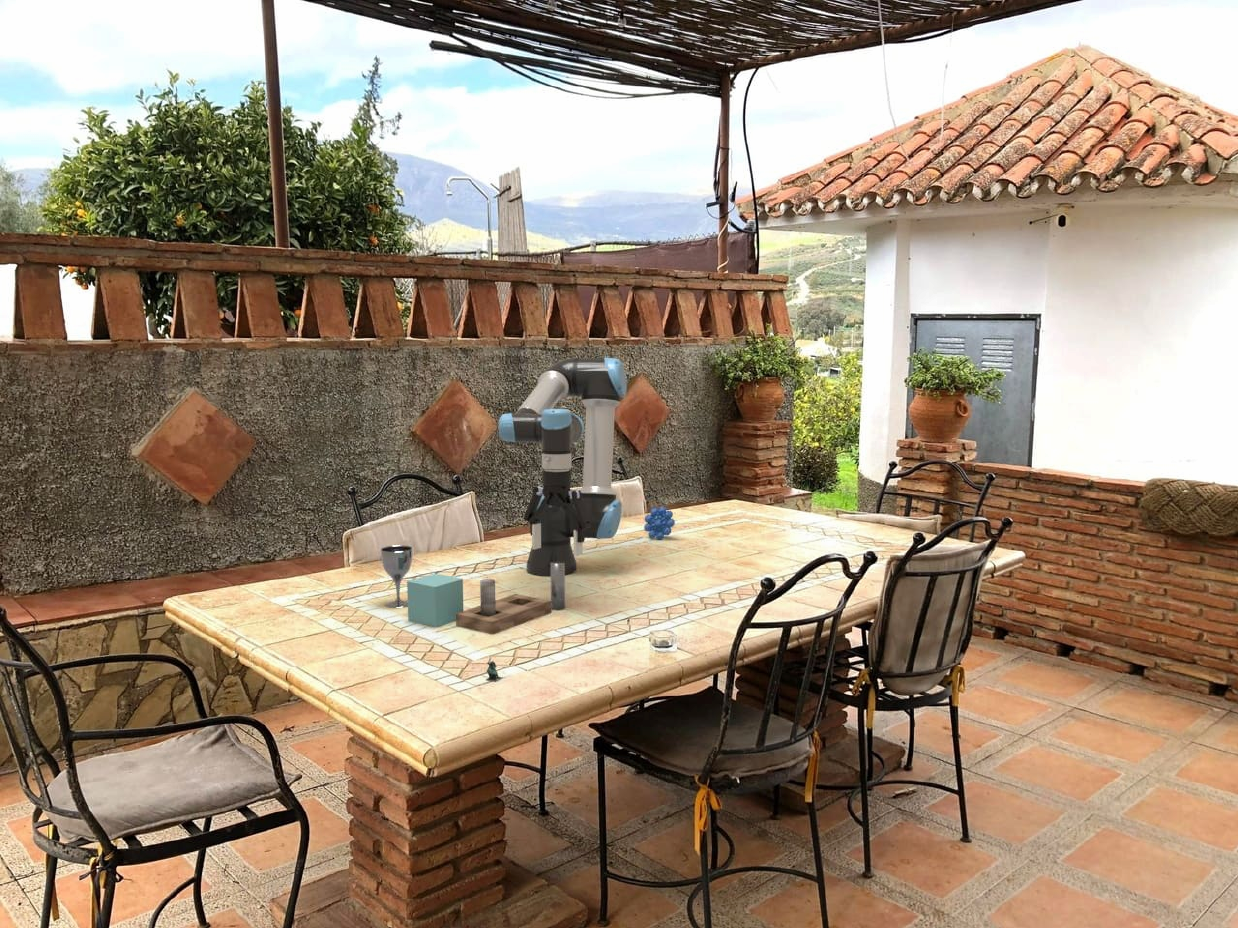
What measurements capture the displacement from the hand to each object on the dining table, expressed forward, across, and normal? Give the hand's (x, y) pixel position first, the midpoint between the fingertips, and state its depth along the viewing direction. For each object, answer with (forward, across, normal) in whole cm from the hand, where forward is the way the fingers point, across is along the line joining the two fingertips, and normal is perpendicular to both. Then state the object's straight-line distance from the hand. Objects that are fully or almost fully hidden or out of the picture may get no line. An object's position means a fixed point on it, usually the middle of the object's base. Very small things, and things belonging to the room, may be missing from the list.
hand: (557, 551), depth 241 cm
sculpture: (+16, +21, -48) cm, 55 cm away
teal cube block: (+15, -19, -24) cm, 35 cm away
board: (+15, -5, -14) cm, 22 cm away
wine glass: (+15, -37, -20) cm, 45 cm away
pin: (+15, 0, 0) cm, 15 cm away
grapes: (+14, -24, +88) cm, 93 cm away
